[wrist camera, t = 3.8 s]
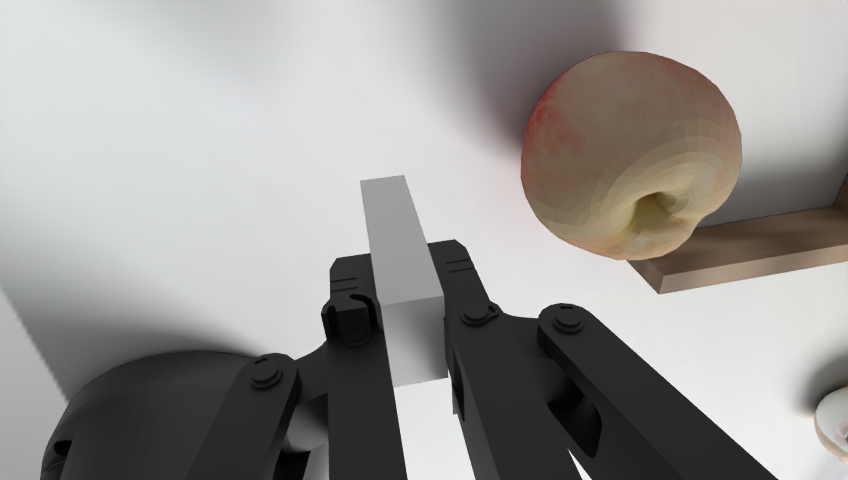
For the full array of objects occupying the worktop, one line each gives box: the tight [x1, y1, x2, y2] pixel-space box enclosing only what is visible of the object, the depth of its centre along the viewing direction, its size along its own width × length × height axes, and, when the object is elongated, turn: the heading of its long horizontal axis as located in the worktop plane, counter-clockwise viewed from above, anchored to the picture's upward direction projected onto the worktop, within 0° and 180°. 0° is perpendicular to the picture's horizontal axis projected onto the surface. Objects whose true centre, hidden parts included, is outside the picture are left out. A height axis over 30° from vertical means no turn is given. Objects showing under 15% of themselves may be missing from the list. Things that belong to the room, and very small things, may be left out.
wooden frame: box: [627, 175, 848, 294], centre depth 23 cm, size 14×16×4 cm
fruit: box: [521, 51, 742, 260], centre depth 20 cm, size 8×8×8 cm
